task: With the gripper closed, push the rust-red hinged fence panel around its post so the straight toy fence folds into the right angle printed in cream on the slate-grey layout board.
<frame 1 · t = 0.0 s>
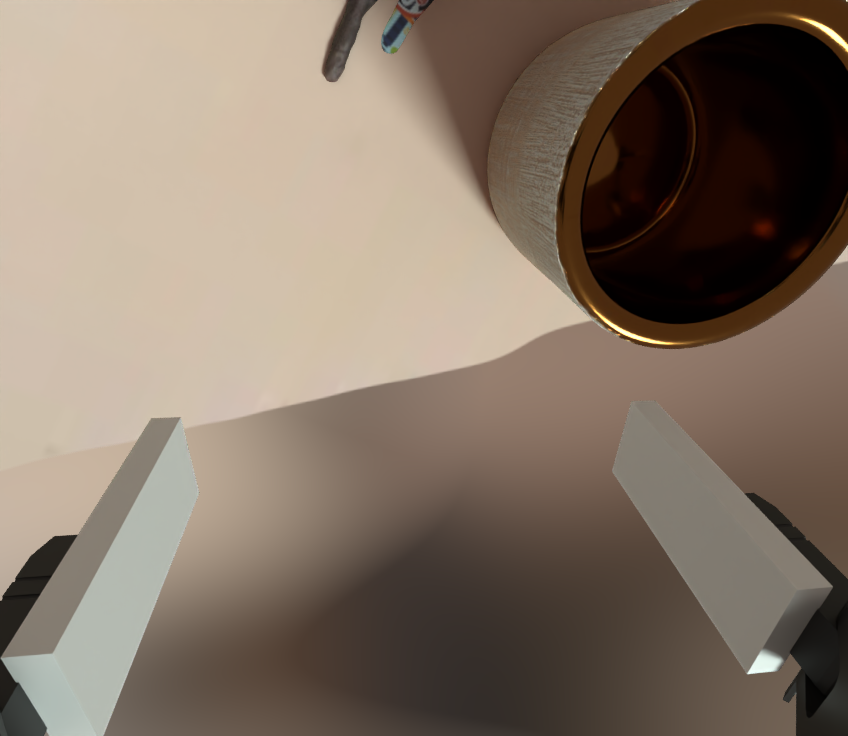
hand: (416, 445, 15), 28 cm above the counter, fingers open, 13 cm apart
planter: (594, 158, 39), on the counter
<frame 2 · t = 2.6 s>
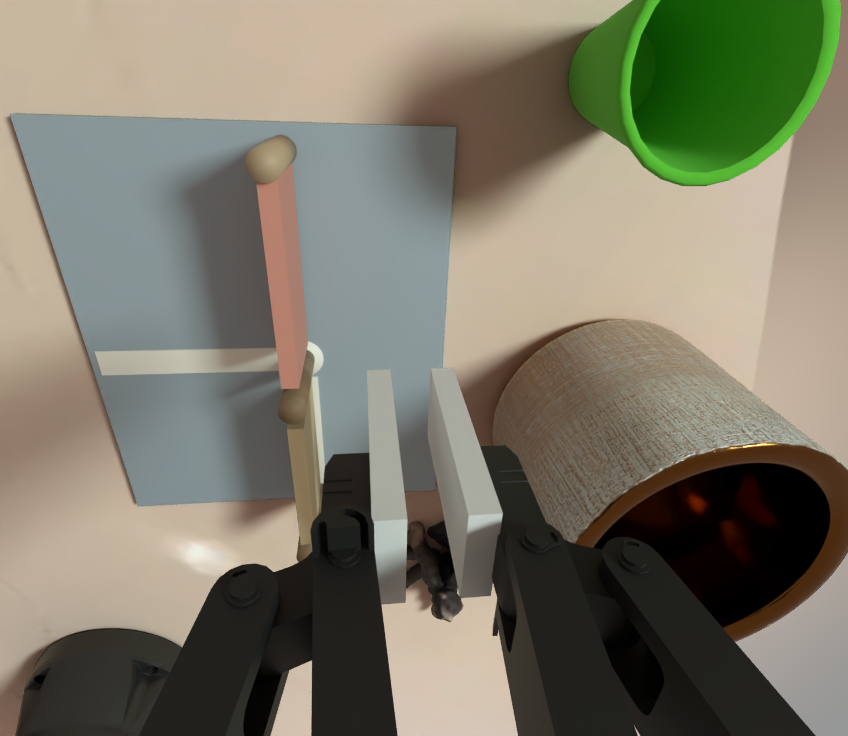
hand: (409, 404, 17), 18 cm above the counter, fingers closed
layout card: (273, 342, 35), on the counter
planter: (592, 410, 42), on the counter
cup: (607, 74, 30), on the counter
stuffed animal: (439, 557, 49), on the counter
hinged fence panel: (285, 265, 28), point 4 cm above the counter, hinge at 0.0°
fixed fence panel: (304, 354, 36), resting on layout card
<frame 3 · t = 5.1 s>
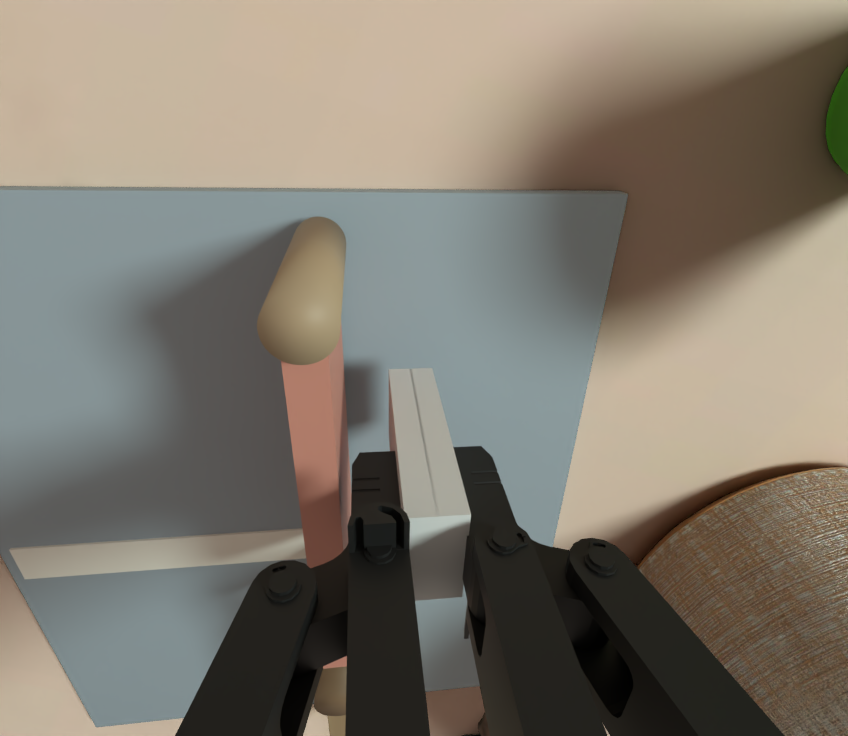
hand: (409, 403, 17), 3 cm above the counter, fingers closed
layout card: (297, 516, 22), on the counter
planter: (753, 572, 29), on the counter
hinged fence panel: (327, 453, 15), point 4 cm above the counter, hinge at 0.0°, touching gripper
fixed fence panel: (343, 529, 23), resting on layout card
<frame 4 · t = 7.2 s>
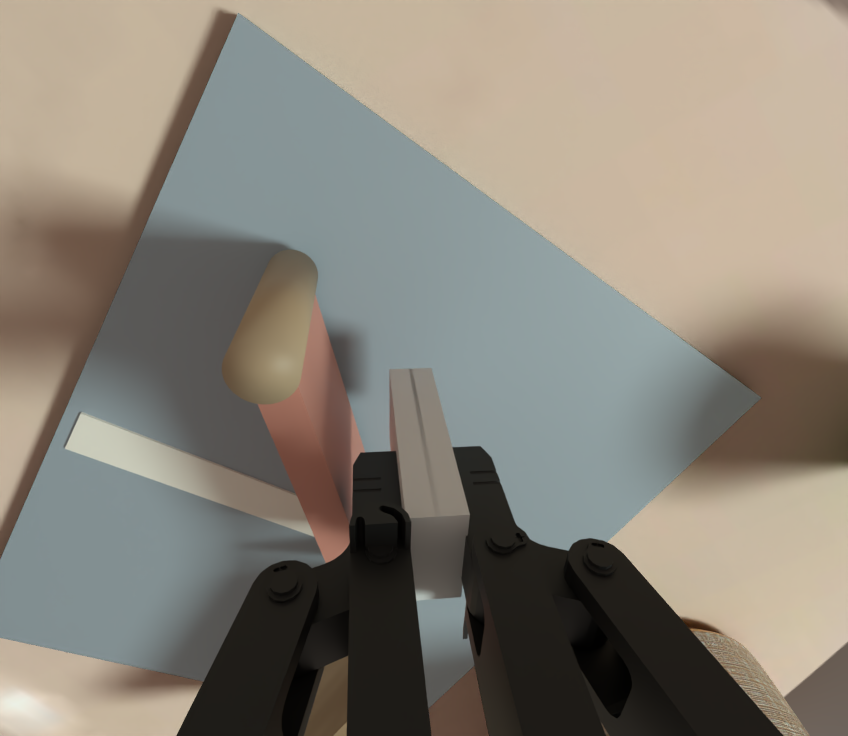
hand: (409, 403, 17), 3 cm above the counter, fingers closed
layout card: (359, 506, 23), on the counter
planter: (620, 693, 35), on the counter
hinged fence panel: (337, 471, 16), point 4 cm above the counter, hinge at 45.0°, touching gripper
fixed fence panel: (384, 534, 24), resting on layout card
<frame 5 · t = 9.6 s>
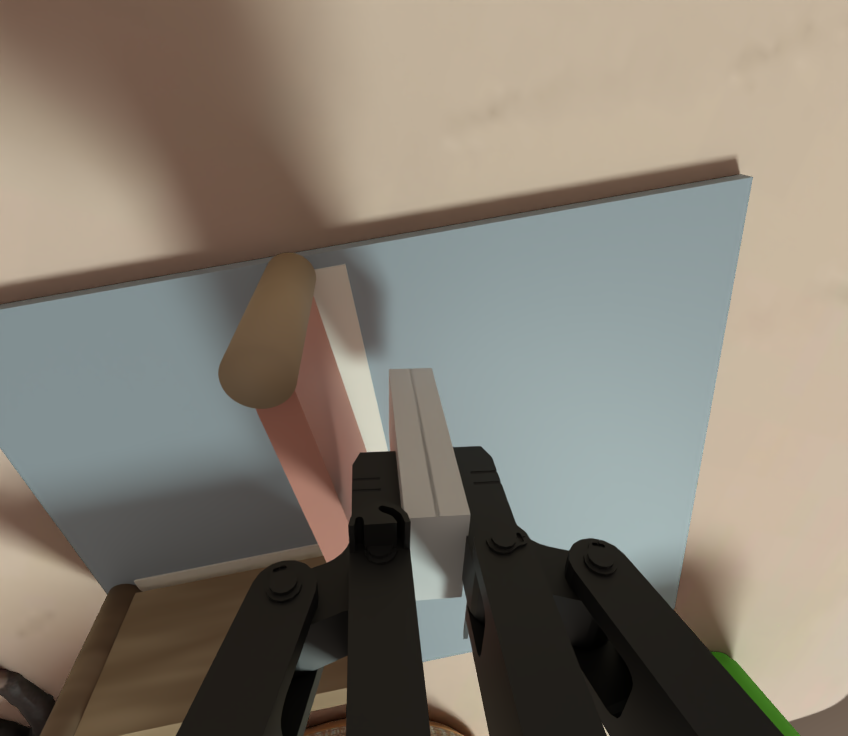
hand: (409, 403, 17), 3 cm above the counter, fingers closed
layout card: (402, 499, 23), on the counter
cup: (695, 670, 34), on the counter
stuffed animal: (38, 729, 29), on the counter
hinged fence panel: (338, 472, 16), point 4 cm above the counter, hinge at 93.6°
fixed fence panel: (388, 533, 24), resting on layout card
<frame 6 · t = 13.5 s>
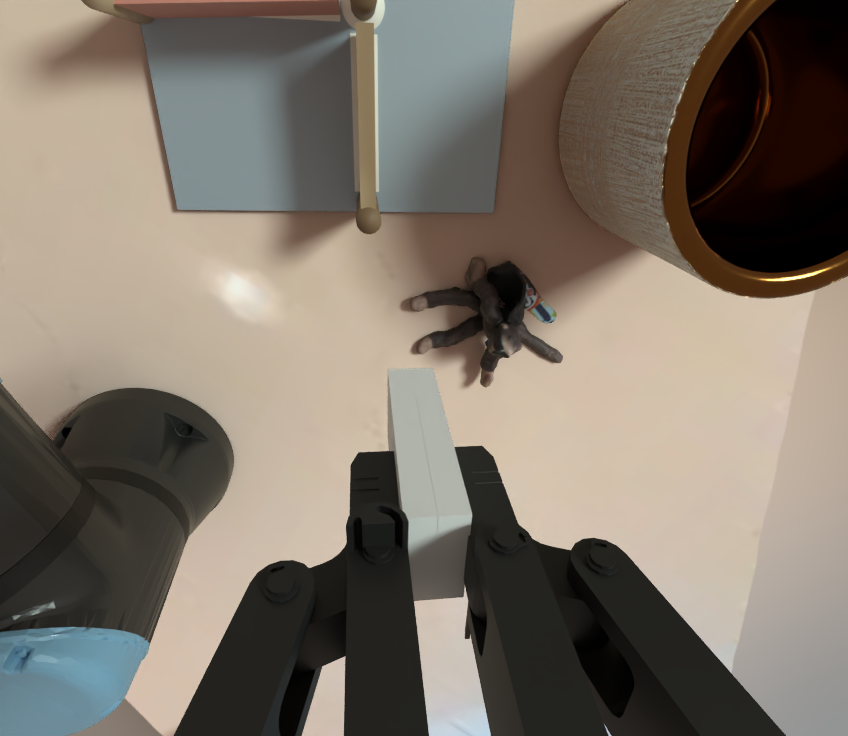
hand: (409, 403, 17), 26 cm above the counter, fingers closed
planter: (663, 119, 39), on the counter
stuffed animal: (491, 318, 46), on the counter
fixed fence panel: (363, 7, 33), resting on layout card
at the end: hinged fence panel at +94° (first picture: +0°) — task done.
